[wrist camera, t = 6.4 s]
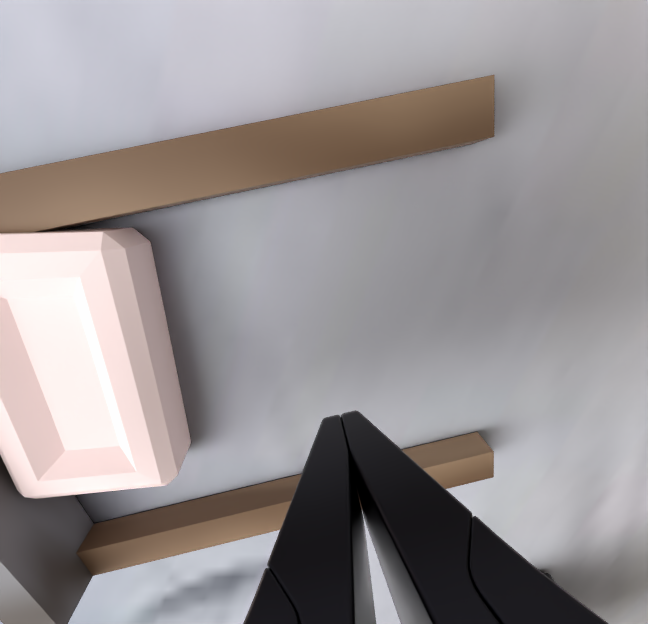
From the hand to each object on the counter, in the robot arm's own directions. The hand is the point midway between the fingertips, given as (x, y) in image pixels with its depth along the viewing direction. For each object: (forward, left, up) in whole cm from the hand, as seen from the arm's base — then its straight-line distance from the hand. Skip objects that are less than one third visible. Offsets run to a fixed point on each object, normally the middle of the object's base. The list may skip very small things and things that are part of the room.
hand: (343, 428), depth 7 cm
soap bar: (+1, +8, -6) cm, 10 cm away
